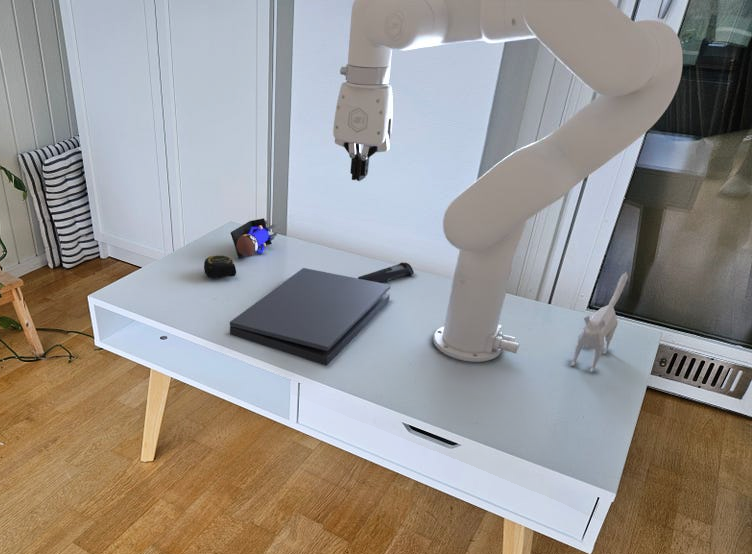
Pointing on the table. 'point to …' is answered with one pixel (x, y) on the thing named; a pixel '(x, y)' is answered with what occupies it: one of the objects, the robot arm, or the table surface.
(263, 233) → the character figurine
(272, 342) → the dark grey flat slab
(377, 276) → the electric trimmer
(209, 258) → the tape measure
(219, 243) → the table surface
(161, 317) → the table surface
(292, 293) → the laptop screen
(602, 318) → the cat figurine
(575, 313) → the table surface
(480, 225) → the robot arm
